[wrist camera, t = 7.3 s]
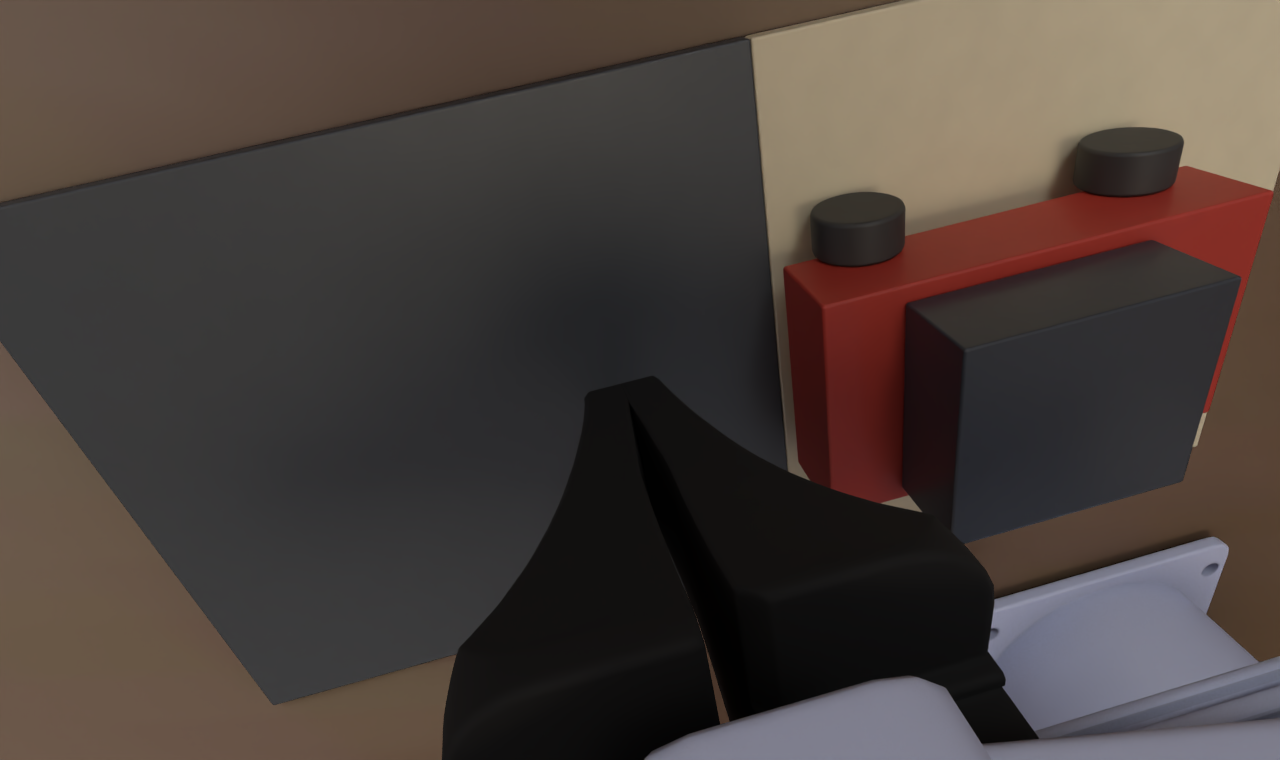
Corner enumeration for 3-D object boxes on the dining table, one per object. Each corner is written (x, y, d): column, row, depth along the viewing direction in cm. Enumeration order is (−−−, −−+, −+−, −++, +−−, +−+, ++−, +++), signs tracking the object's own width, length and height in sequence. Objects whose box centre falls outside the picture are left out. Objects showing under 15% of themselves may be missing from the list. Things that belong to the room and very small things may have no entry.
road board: (1184, 438, 19) (1197, 446, 19) (276, 691, 17) (272, 706, 17) (1337, -98, 13) (1361, -99, 12) (-70, 218, 11) (-88, 226, 11)
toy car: (1110, 383, 17) (1278, 496, 13) (787, 471, 16) (873, 613, 13) (1165, 113, 14) (1406, 167, 10) (764, 211, 13) (871, 306, 10)
